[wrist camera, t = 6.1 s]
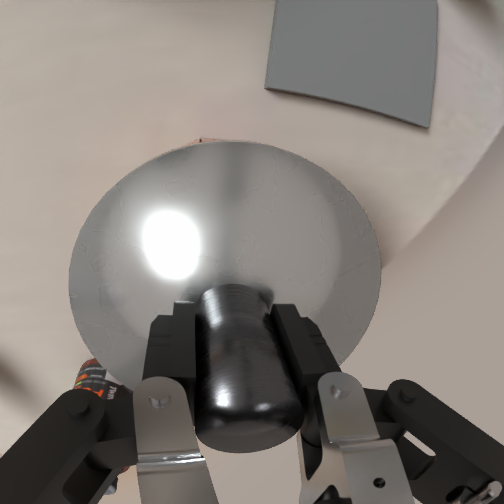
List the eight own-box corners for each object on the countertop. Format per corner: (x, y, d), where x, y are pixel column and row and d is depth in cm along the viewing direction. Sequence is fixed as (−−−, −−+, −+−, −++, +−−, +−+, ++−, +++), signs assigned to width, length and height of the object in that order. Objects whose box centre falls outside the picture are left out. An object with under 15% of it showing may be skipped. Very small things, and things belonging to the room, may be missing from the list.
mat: (284, -60, 12) (288, -66, 11) (428, -5, 14) (436, -8, 14) (264, 88, 17) (267, 86, 16) (420, 126, 19) (428, 128, 18)
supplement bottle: (107, 344, 23) (79, 462, 13) (154, 384, 25) (148, 495, 15) (68, 368, 23) (37, 470, 13) (112, 404, 26) (99, 502, 16)
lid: (68, 135, 9) (-48, 167, 3) (399, 167, 11) (517, 216, 6) (102, 392, 14) (83, 491, 8) (329, 392, 16) (367, 478, 11)
